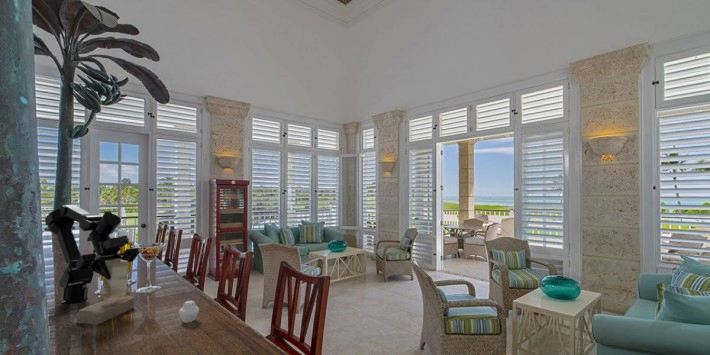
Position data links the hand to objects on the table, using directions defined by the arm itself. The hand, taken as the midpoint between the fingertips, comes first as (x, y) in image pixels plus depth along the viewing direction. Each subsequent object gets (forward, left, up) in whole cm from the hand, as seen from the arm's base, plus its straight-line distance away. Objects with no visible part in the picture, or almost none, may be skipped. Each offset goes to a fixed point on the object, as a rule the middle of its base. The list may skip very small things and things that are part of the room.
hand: (117, 277), depth 120 cm
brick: (-3, 0, -14) cm, 14 cm away
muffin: (+26, -10, -13) cm, 31 cm away
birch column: (-1, +1, -7) cm, 7 cm away
